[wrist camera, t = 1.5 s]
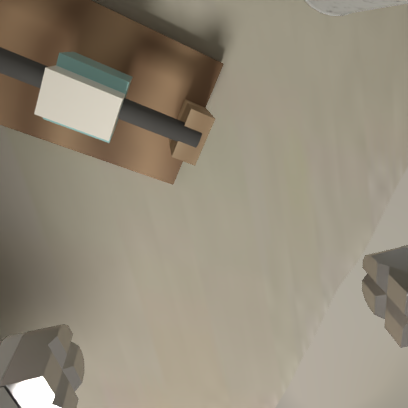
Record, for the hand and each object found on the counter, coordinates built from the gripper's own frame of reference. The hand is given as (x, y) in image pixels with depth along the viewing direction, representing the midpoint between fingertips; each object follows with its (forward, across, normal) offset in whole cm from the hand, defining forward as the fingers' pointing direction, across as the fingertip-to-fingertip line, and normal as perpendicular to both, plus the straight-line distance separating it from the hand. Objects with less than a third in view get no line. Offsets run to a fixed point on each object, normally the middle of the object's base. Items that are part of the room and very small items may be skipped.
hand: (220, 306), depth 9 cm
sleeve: (+21, +6, -4) cm, 23 cm away
